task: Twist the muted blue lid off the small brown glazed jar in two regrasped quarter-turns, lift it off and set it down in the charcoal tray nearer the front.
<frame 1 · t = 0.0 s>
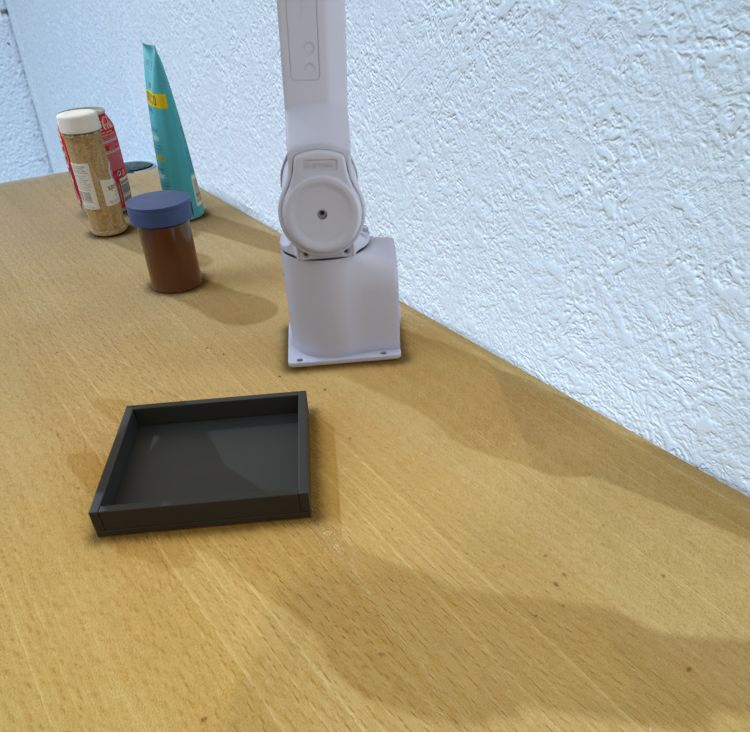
tray: (214, 468, 48), on the table
seasoning shaker: (109, 211, 95), on the table
tube: (185, 217, 91), on the table
lid: (158, 202, 68), point 8 cm above the table, screwed on, not yet turned
sprinkles bottle: (110, 232, 88), on the table
jar: (177, 283, 74), on the table
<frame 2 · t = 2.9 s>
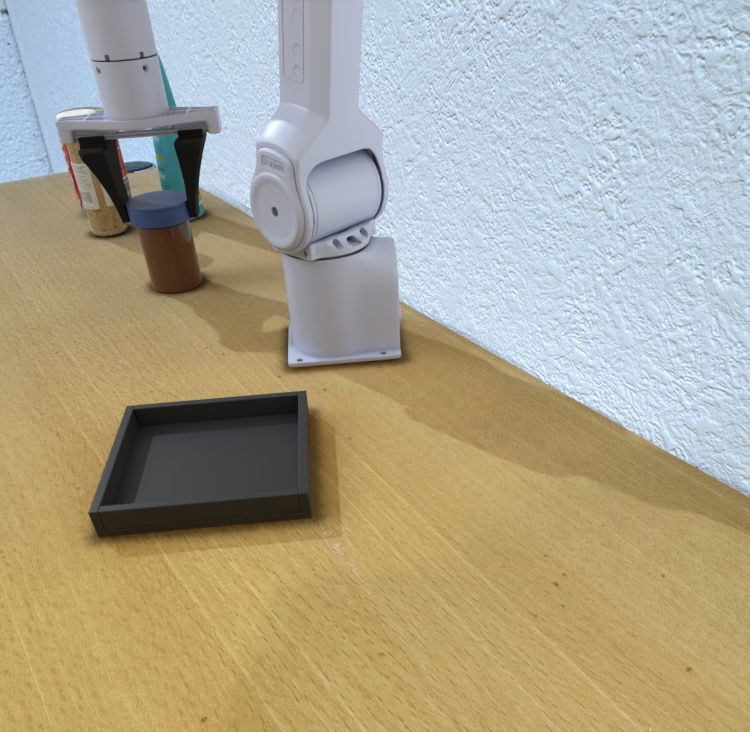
hand: (162, 217, 69), 7 cm above the table, tool pointing down, fingers closed on lid, 6 cm apart
lid: (158, 202, 68), point 8 cm above the table, screwed on, not yet turned, touching gripper
everything else where it was.
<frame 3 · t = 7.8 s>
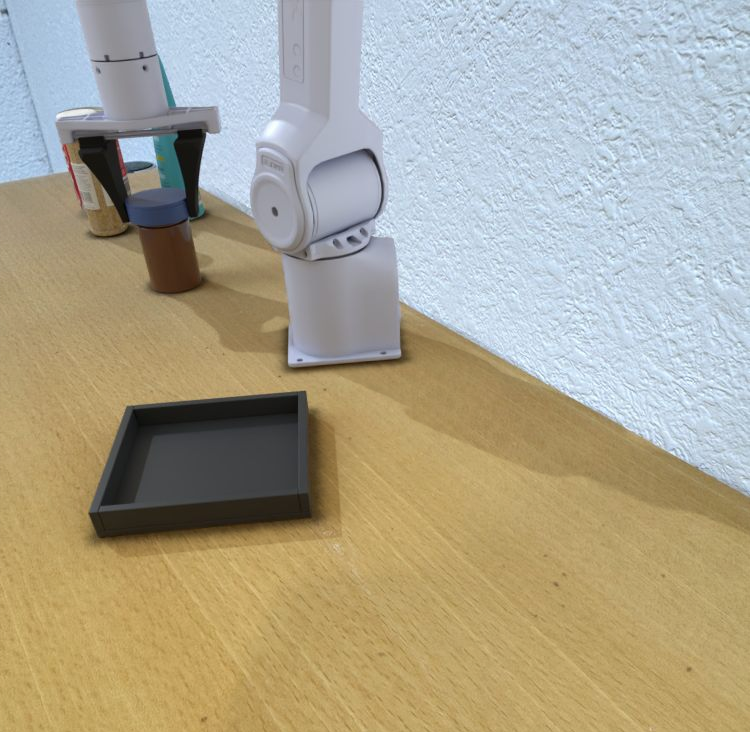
hand: (161, 217, 69), 7 cm above the table, tool pointing down, fingers closed on lid, 6 cm apart
lid: (157, 200, 68), point 8 cm above the table, turned 87° so far, risen 0.2 cm, still on its thread, touching gripper
everything else where it was.
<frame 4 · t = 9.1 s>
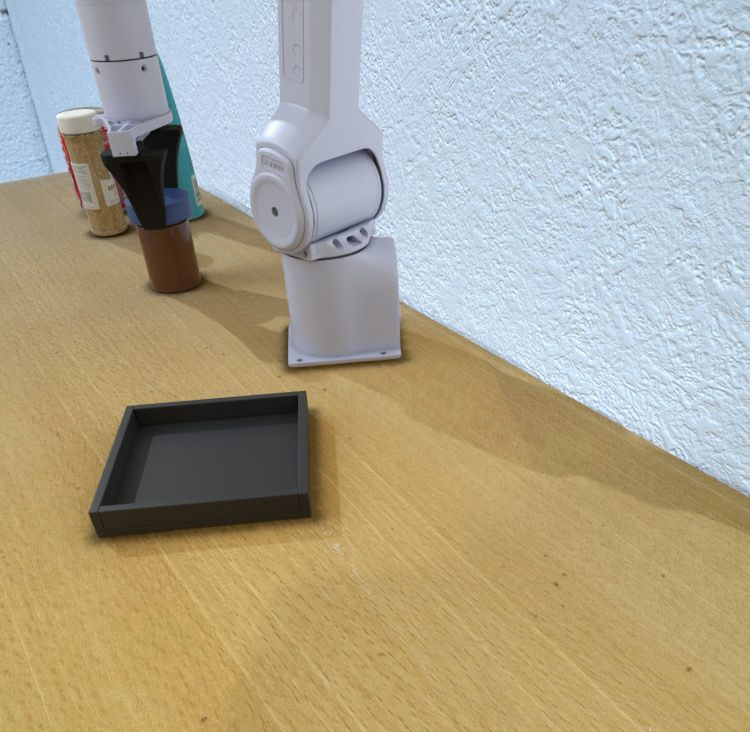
hand: (161, 217, 69), 7 cm above the table, tool pointing down, fingers closed on lid, 6 cm apart
lid: (157, 200, 68), point 8 cm above the table, off its thread, touching gripper
everything else where it was.
when the fingers open (3 cm above the table, at t = 33.1 s): lid drops 2 cm, resting on tray.
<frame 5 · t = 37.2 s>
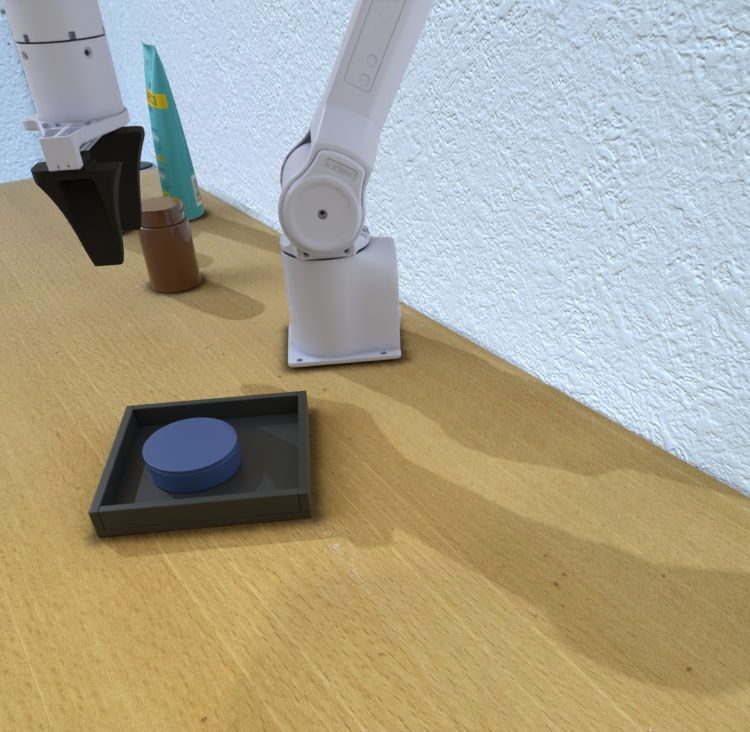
hand: (119, 245, 54), 10 cm above the table, tool pointing down, fingers open, 7 cm apart
lid: (191, 446, 46), point 2 cm above the table, off its thread, touching tray
everything else where it was.
at the end: lid inside the target area on the tray (1.2 cm from its centre), point 2.0 cm above the tray's base; lid point 2.0 cm above the table; the gripper is holding nothing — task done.
